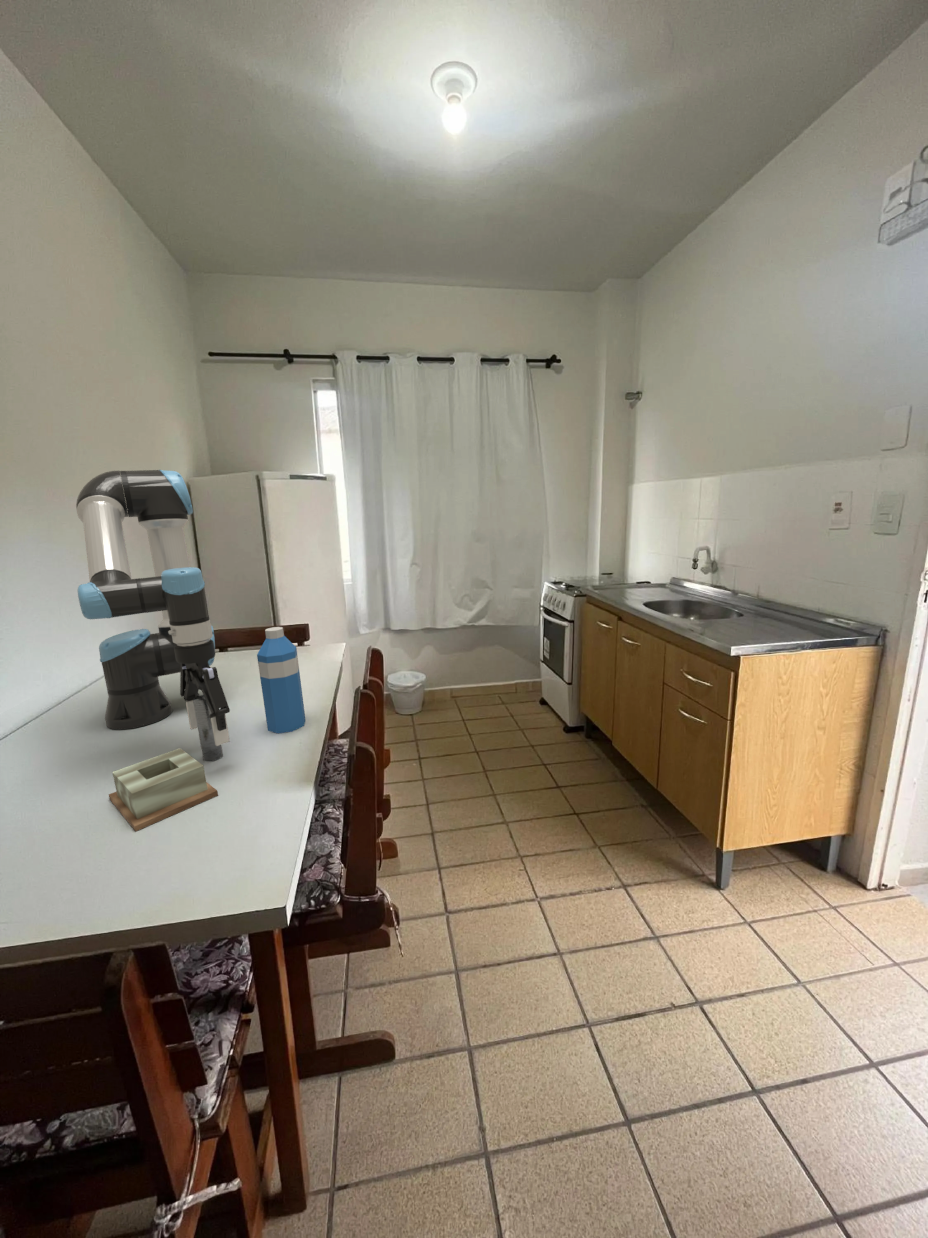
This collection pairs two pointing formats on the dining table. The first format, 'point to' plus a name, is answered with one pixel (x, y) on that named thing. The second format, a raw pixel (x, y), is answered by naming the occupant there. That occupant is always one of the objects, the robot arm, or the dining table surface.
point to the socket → (160, 788)
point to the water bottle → (281, 682)
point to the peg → (206, 730)
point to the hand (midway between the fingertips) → (209, 735)
